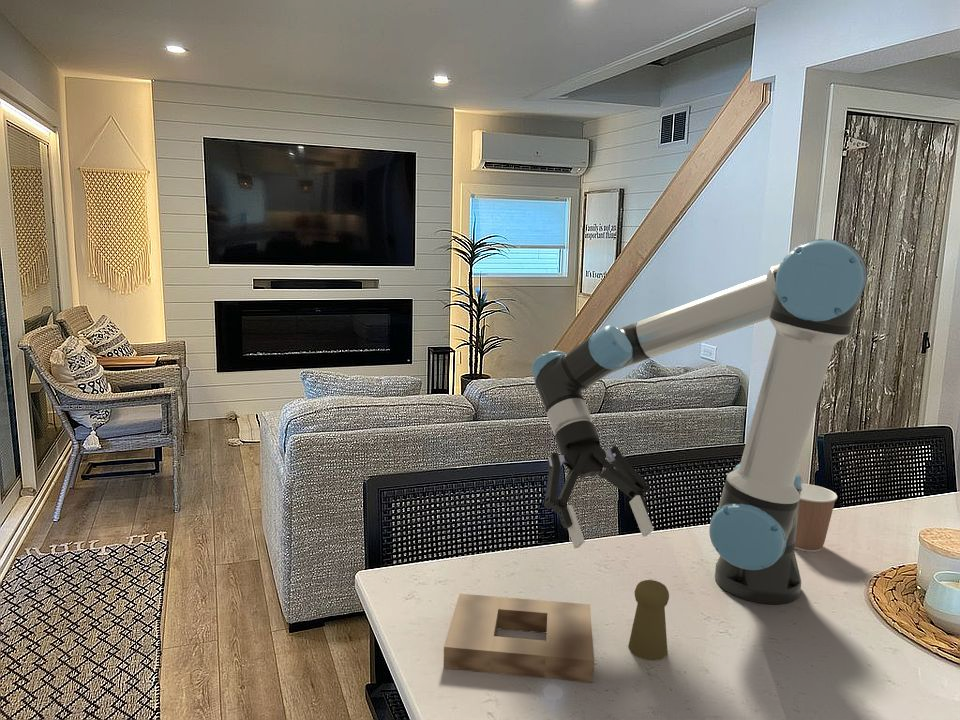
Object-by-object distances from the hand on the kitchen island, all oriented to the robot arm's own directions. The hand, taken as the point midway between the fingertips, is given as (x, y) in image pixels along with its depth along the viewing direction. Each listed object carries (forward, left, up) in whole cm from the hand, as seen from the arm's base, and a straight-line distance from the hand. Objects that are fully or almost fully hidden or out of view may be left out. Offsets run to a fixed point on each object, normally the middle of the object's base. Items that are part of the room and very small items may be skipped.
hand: (614, 539), depth 119 cm
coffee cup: (-43, -36, -14) cm, 58 cm away
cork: (-5, +9, -14) cm, 18 cm away
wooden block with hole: (+15, +11, -14) cm, 23 cm away
